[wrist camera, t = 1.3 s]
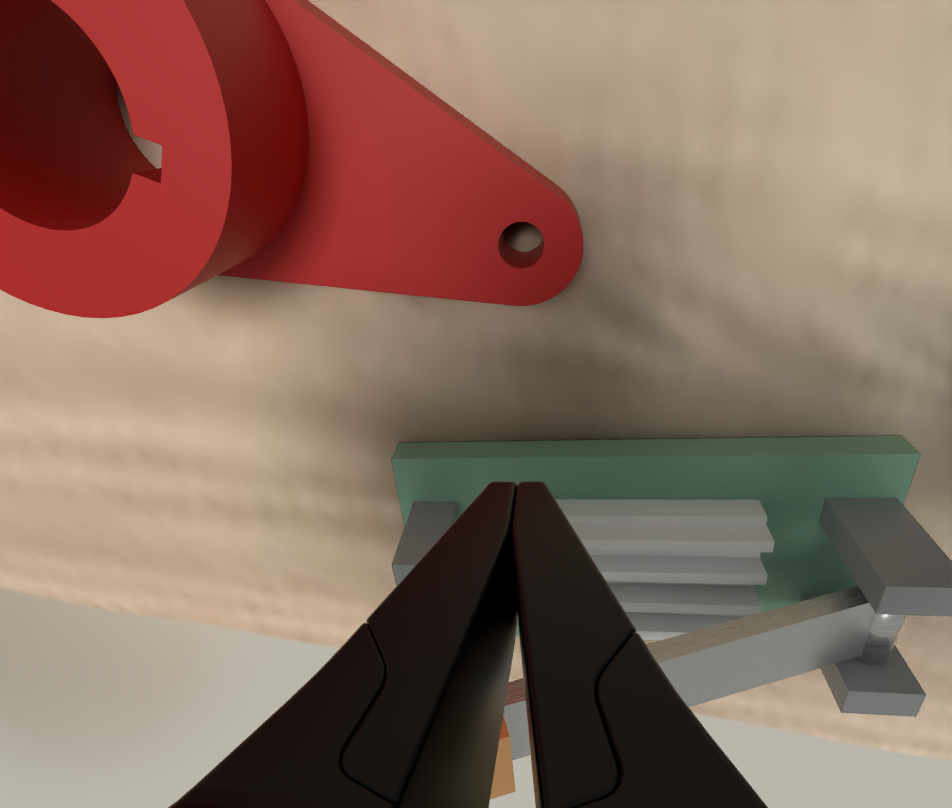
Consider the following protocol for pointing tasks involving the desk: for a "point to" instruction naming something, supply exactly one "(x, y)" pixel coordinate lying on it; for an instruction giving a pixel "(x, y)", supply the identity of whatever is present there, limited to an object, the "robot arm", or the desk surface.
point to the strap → (738, 659)
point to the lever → (248, 163)
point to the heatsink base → (714, 529)
